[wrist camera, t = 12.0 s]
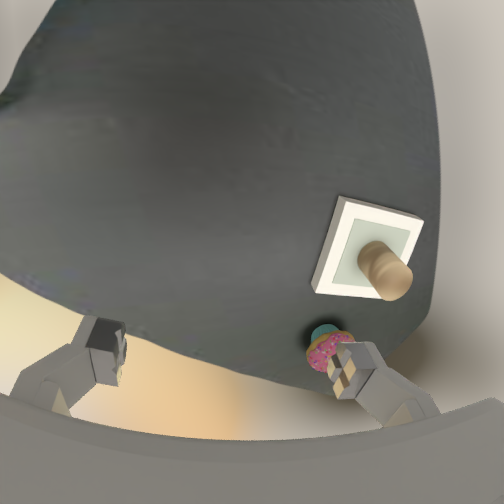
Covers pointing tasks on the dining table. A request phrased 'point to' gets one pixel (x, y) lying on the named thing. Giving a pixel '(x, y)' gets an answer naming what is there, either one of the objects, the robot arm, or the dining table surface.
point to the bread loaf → (384, 270)
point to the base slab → (361, 245)
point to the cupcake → (325, 345)
